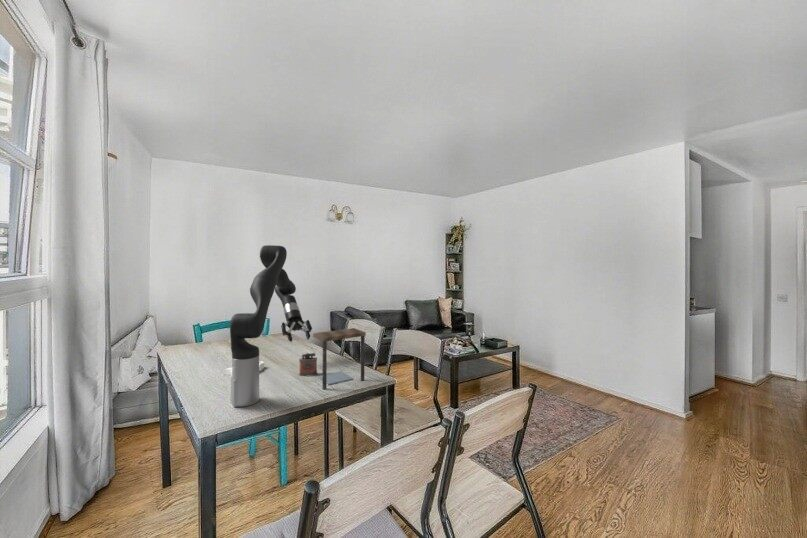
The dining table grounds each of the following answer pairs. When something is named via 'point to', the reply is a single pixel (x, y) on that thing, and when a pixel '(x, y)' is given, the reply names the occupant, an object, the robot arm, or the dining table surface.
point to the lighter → (308, 364)
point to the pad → (336, 377)
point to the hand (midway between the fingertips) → (300, 339)
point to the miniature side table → (336, 336)
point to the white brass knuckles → (229, 370)
